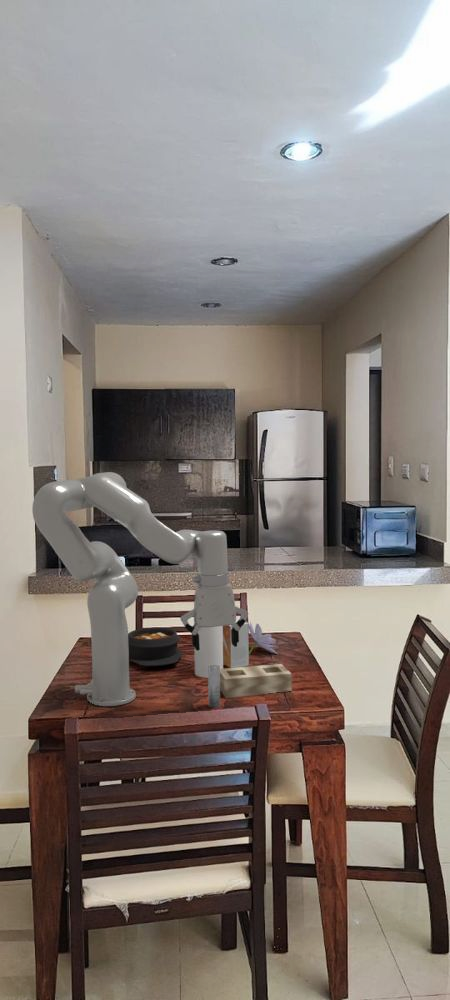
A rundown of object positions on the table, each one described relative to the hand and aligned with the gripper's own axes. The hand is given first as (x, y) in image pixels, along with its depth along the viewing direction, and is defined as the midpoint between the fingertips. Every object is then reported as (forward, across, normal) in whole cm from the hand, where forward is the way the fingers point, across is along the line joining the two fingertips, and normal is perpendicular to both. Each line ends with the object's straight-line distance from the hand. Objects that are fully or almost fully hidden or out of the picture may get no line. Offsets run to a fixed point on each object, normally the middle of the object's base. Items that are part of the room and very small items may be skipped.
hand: (215, 647), depth 185 cm
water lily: (+16, +24, +43) cm, 51 cm away
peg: (+15, -1, 0) cm, 15 cm away
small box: (+15, +12, +33) cm, 39 cm away
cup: (+15, +3, +26) cm, 31 cm away
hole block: (+15, +12, +9) cm, 22 cm away
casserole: (+15, -11, +44) cm, 48 cm away
